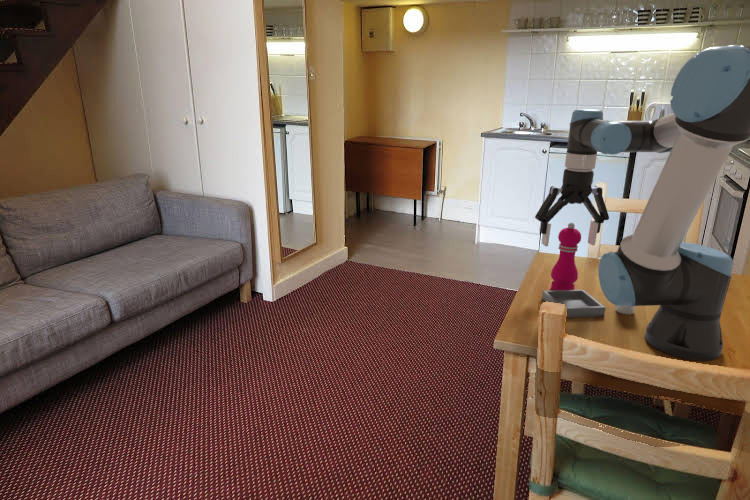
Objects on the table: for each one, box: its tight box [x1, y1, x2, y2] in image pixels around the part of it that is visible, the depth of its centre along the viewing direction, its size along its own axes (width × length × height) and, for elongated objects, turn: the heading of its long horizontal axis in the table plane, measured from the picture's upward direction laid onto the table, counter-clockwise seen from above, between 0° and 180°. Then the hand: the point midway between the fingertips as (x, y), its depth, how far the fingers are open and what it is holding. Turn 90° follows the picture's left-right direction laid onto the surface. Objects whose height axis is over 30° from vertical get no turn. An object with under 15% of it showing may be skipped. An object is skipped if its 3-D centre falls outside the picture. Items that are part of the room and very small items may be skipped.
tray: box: [541, 289, 606, 318], centre depth 132 cm, size 12×12×2 cm
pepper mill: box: [550, 222, 582, 290], centre depth 141 cm, size 7×7×20 cm
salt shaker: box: [615, 305, 636, 315], centre depth 129 cm, size 4×4×10 cm
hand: (568, 244), depth 140 cm, fingers open, 13 cm apart
